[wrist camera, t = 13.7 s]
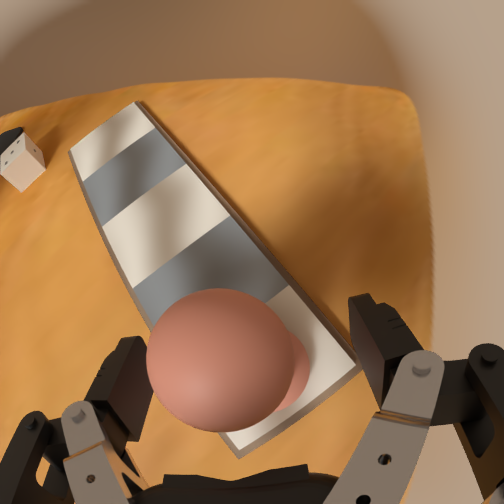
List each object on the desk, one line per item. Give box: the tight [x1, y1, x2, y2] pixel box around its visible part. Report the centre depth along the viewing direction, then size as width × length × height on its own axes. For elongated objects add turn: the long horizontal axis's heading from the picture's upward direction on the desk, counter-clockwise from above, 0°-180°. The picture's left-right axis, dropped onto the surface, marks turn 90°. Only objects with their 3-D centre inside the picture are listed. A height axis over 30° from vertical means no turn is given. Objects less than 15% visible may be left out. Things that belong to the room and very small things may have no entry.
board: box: [68, 101, 363, 459], centre depth 21 cm, size 9×31×1 cm, turn 37°
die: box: [0, 133, 46, 192], centre depth 26 cm, size 4×4×4 cm
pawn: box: [146, 288, 310, 432], centre depth 11 cm, size 5×5×12 cm
